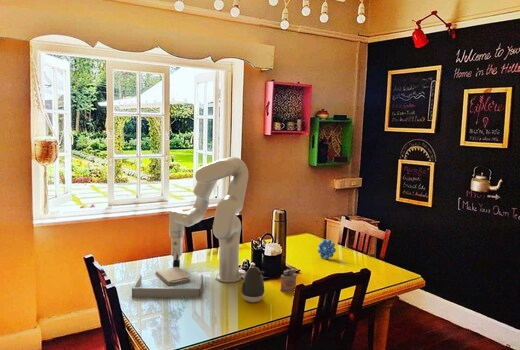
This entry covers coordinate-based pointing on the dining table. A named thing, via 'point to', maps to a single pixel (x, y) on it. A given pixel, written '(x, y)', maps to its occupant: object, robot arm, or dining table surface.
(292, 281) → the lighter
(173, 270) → the washcloth
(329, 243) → the blue knobbly wheel
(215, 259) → the dining table surface
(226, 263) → the robot arm
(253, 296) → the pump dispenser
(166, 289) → the box
